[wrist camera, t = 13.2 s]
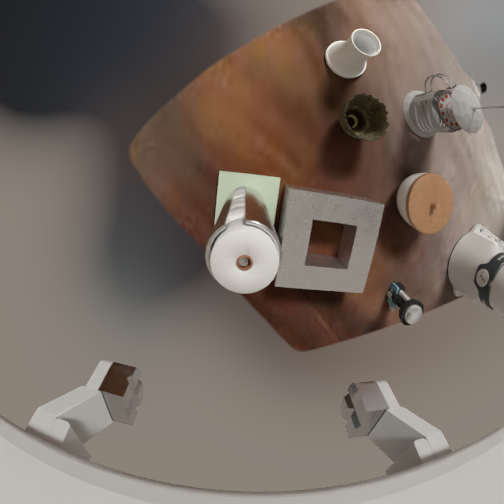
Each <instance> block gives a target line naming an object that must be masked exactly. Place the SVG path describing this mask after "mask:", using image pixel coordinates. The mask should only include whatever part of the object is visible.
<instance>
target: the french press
mask: <svg viewBox="0 0 504 504" xmlns="http://www.w3.org/2000/svg"><path fill="white" fill-rule="evenodd" d="M438 75H444V76H447V77H448V78H450V77H449V76H448V75H445V74H442V73H439V74H435V75H431V76H429V77H428V78H427V79H426V81H425V93H424V92H422V91H412V92H411V93H409V94H407V96H406V98H405V100H404V104H403V112H404V116H405V120H406V122H407V124H408V126H409V127H410V129H411V130H412V131H413V132H414V133H415V134H417V135H418V136H421V137H424V138H427V137H432V136H433V135H434V134H436V133H437V132H455V131H457V130H460V129H463V130H465V131H466V132H468V133H476V132H478V131H479V130H480V128H481V125H482V118H483V114H482V108H504V106H498V107H481V105H480V103H479V100H478V98H477V96H476V95H475V94H474V92H473V91H472V90H471V89H470V88H468V87H467V86H465V85H458V86H457V85H456V83H455V82H454V81H453V79H452V78H450V79H451V80H452V81H453V82H454V84H455V86H453V87H451V86H450V84H449V83H448V82H447V81H446V79H444V78H443V77H441V76H438ZM435 76H437V77H440V78H442V79H443V80H445V81H446V82H447V84H448V85H449V87H448V88H447V89H451V88H454V89H453V92H452V91H447V90H439V91H435V92H432V80H433V78H434V77H435ZM430 77H432V79H431V91H430V92H427V91H426V82H427V80H428V79H429V78H430ZM436 96H439V98H438V97H436ZM433 97H435V98H437V99H438V101H437V100H436V99H435V98H433ZM441 119H442V125H441V126H440V123H441ZM444 123H445V127H443V125H444Z"/></svg>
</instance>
